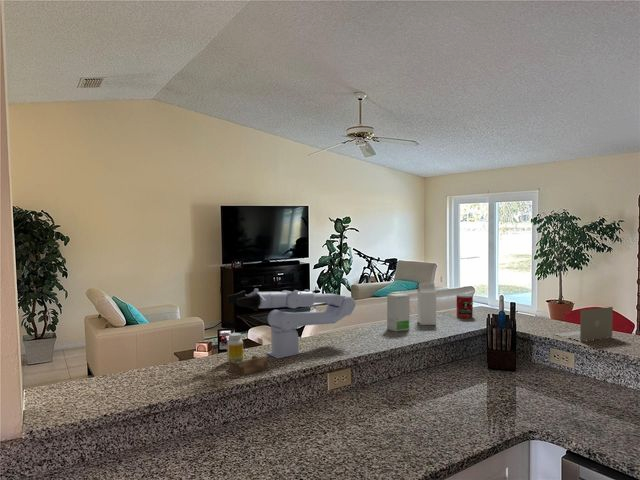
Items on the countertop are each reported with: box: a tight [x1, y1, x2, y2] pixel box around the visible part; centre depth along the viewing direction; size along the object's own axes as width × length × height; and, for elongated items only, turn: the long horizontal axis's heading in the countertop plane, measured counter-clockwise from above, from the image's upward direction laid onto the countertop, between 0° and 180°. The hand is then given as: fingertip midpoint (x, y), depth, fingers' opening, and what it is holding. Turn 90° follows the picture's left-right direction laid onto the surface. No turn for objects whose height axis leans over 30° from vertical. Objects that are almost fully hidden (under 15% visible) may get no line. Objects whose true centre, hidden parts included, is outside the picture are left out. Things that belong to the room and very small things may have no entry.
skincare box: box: [386, 293, 411, 332], centre depth 200 cm, size 8×7×16 cm
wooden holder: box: [229, 355, 268, 376], centre depth 147 cm, size 9×8×4 cm
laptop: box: [553, 306, 614, 342], centre depth 185 cm, size 18×12×13 cm
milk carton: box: [417, 282, 437, 326], centre depth 211 cm, size 7×7×19 cm
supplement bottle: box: [226, 332, 244, 364], centre depth 155 cm, size 5×5×10 cm
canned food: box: [456, 293, 474, 319], centre depth 225 cm, size 8×8×11 cm
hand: (232, 300), depth 151 cm, fingers open, 7 cm apart
